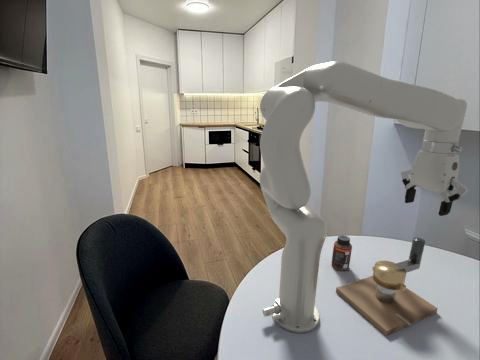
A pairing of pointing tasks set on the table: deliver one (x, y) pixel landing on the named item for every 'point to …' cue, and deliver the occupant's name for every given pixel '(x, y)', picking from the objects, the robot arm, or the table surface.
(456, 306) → the table surface
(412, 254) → the brass hub lever
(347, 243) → the supplement bottle
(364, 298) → the walnut base
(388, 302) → the steel post
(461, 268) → the table surface
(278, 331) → the table surface
